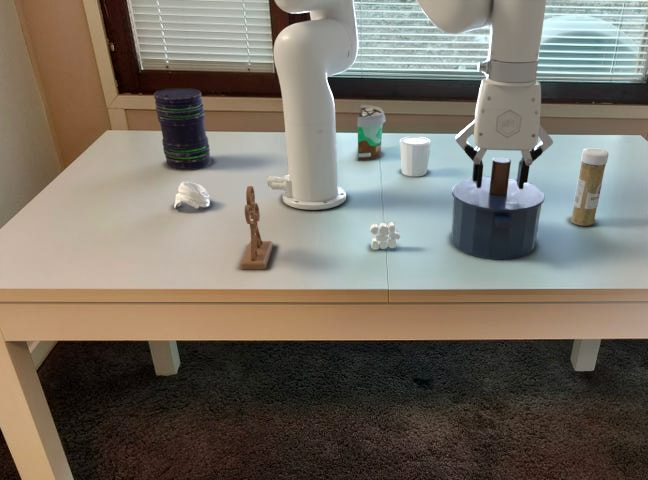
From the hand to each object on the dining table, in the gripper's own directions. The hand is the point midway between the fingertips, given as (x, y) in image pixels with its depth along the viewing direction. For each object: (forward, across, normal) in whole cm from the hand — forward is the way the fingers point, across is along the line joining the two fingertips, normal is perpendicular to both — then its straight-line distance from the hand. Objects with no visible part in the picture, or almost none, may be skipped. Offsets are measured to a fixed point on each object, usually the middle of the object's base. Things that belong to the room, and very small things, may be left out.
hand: (499, 185), depth 109 cm
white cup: (+10, -14, +36) cm, 40 cm away
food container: (+10, -24, +48) cm, 55 cm away
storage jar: (+10, -65, +38) cm, 76 cm away
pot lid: (+2, 0, 0) cm, 2 cm away
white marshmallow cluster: (+10, -19, -4) cm, 22 cm away
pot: (+10, 0, 0) cm, 10 cm away
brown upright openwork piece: (+10, -40, -9) cm, 42 cm away
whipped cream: (+10, -57, +13) cm, 59 cm away
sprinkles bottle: (+10, +18, +10) cm, 23 cm away
